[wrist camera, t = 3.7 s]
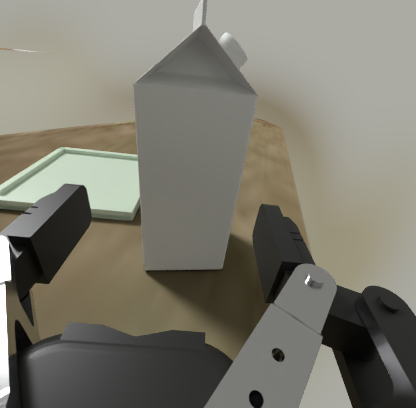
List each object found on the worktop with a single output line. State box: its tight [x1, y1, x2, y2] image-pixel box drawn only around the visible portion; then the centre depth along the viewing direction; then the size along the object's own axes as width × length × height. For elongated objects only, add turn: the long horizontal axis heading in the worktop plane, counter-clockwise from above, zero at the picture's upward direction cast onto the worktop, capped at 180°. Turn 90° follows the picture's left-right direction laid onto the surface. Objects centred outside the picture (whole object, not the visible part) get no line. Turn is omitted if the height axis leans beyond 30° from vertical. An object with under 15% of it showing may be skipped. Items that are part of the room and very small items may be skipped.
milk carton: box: [133, 0, 257, 270], centre depth 19 cm, size 7×7×19 cm
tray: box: [0, 147, 140, 221], centre depth 32 cm, size 16×16×1 cm
